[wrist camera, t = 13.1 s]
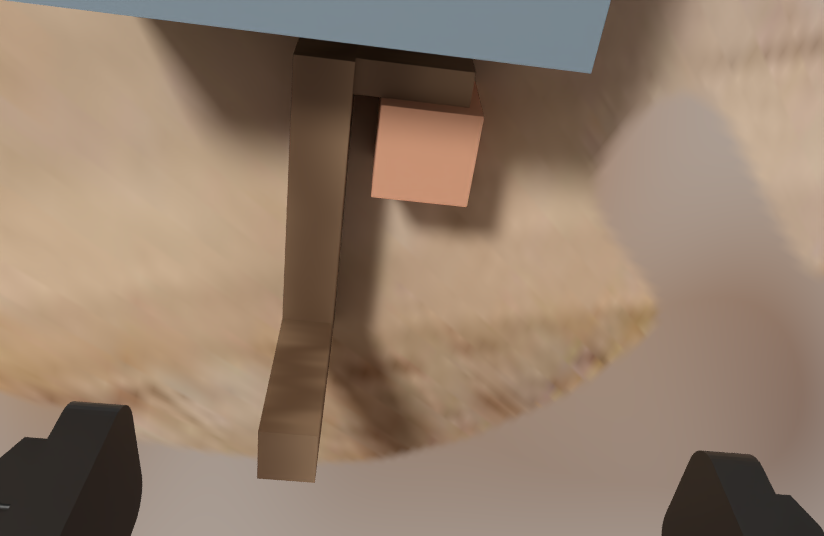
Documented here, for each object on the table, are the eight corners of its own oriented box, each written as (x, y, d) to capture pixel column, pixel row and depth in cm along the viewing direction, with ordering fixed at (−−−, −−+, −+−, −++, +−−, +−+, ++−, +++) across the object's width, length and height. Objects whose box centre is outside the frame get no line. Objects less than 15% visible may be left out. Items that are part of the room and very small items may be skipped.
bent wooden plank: (469, 48, 35) (497, 157, 25) (421, 329, 44) (427, 491, 34) (303, 27, 34) (264, 130, 24) (289, 317, 44) (257, 478, 34)
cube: (475, 81, 36) (484, 117, 32) (459, 164, 39) (466, 206, 35) (382, 70, 36) (381, 105, 32) (373, 155, 38) (371, 197, 34)
